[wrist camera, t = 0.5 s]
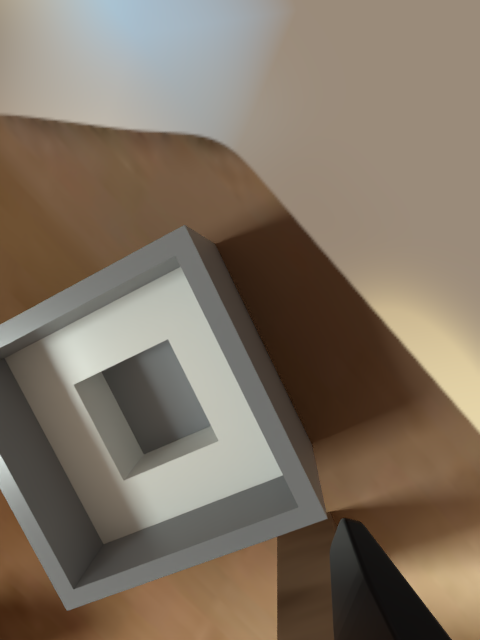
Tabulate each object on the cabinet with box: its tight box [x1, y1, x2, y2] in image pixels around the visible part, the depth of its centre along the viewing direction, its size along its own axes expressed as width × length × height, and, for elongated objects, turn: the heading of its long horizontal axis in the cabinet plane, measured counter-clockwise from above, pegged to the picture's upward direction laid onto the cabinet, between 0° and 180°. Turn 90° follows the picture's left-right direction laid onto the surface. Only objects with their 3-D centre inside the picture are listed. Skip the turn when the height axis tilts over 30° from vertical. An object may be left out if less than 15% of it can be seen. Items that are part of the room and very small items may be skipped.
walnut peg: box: [277, 512, 337, 640], centre depth 18 cm, size 4×4×10 cm
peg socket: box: [0, 225, 328, 611], centre depth 19 cm, size 15×15×7 cm
